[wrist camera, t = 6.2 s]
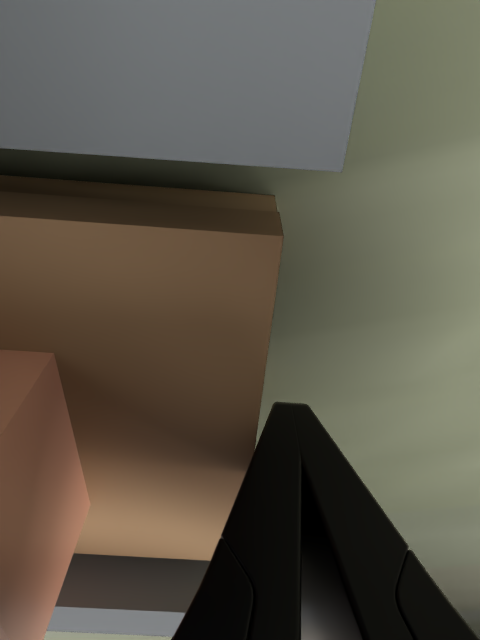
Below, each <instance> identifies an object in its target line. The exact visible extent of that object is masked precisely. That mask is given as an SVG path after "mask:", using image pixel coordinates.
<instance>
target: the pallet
mask: <svg viewBox="0 0 480 640" xmlns="http://www.w3.org/2000/svg"><path fill="white" fill-rule="evenodd" d="M283 237H284V236H283V230H282V225H281V219H280V214H279V212H277V207H276V202H275V196H274V195H260V194H247V193H233V192H220V191H206V190H193V189H180V188H166V187H153V186H139V185H126V184H113V183H99V182H86V181H72V180H59V179H45V178H32V177H19V176H5V175H0V350H15V351H30V352H46V353H54V355H55V359H56V363H57V368H58V372H59V376H60V380H61V384H62V388H63V392H64V397H65V401H66V405H67V409H68V413H69V417H70V422H71V426H72V430H73V434H74V438H75V442H76V446H77V451H78V455H79V459H80V463H81V467H82V471H83V476H84V480H85V484H86V488H87V492H88V496H89V500H90V507H89V510H88V513H87V516H86V519H85V522H84V524H83V527H82V530H81V533H80V536H79V539H78V542H77V544H76V547H75V550H74V553H79V554H97V555H116V556H134V557H153V558H171V559H190V560H208V561H210V560H211V558H212V556H213V553H214V551H215V548H216V546H217V543H218V541H219V539H220V538H221V534H222V531H223V529H224V526H225V524H226V521H227V519H228V516H229V514H230V511H231V509H232V506H233V504H234V501H235V499H236V496H237V494H238V491H239V489H240V486H241V484H242V481H243V479H244V476H245V474H246V471H247V469H248V466H249V464H250V461H251V459H252V456H253V454H254V450H255V443H256V435H257V428H258V421H259V413H260V406H261V399H262V391H263V384H264V377H265V369H266V362H267V355H268V347H269V340H270V333H271V325H272V318H273V311H274V303H275V296H276V289H277V281H278V274H279V267H280V259H281V252H282V245H283Z"/></svg>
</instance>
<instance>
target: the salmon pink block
mask: <svg viewBox="0 0 480 640" xmlns="http://www.w3.org/2000/svg"><path fill="white" fill-rule="evenodd" d="M89 507H90V500H89V496H88V492H87V488H86V484H85V480H84V476H83V471H82V467H81V463H80V459H79V455H78V451H77V446H76V442H75V438H74V434H73V430H72V426H71V422H70V417H69V413H68V409H67V405H66V401H65V397H64V392H63V388H62V384H61V380H60V376H59V372H58V368H57V363H56V359H55V355H54V353H46V352H30V351H15V350H0V640H43V639H44V636H45V633H46V630H47V627H48V625H49V622H50V619H51V616H52V613H53V610H54V607H55V605H56V602H57V599H58V596H59V593H60V590H61V587H62V585H63V582H64V579H65V576H66V573H67V570H68V567H69V564H70V562H71V559H72V556H73V553H74V550H75V547H76V544H77V542H78V539H79V536H80V533H81V530H82V527H83V524H84V522H85V519H86V516H87V513H88V510H89Z"/></svg>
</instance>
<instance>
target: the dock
mask: <svg viewBox="0 0 480 640" xmlns="http://www.w3.org/2000/svg"><path fill="white" fill-rule="evenodd" d="M375 3H376V0H0V148H6V149H20V150H34V151H49V152H63V153H77V154H91V155H105V156H119V157H134V158H148V159H162V160H176V161H190V162H204V163H219V164H233V165H247V166H261V167H275V168H289V169H303V170H318V171H332V172H342V170H343V165H344V160H345V155H346V149H347V144H348V139H349V134H350V129H351V124H352V119H353V114H354V109H355V104H356V99H357V94H358V89H359V84H360V79H361V74H362V68H363V63H364V58H365V53H366V48H367V43H368V38H369V33H370V28H371V23H372V18H373V13H374V8H375ZM209 563H210V561H208V560H190V559H171V558H153V557H134V556H116V555H97V554H79V553H73V556H72V559H71V562H70V564H69V567H68V570H67V573H66V576H65V579H64V582H63V585H62V587H61V590H60V593H59V596H58V599H57V602H56V605H55V607H54V610H53V613H52V616H51V619H50V622H49V625H48V627H47V630H46V631H61V632H83V633H104V634H126V635H147V636H168V637H173V635H174V634H175V632H176V630H177V628H178V626H179V624H180V623H181V621H182V619H183V617H184V615H185V613H186V611H187V609H188V607H189V605H190V603H191V601H192V599H193V598H194V596H195V594H196V592H197V590H198V588H199V586H200V583H201V581H202V579H203V576H204V574H205V572H206V570H207V567H208V565H209Z"/></svg>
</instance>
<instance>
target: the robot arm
mask: <svg viewBox="0 0 480 640" xmlns="http://www.w3.org/2000/svg"><path fill="white" fill-rule="evenodd" d="M171 640H480V639H479V638H478V637H477V635H476V634H475V633H474V632H473V630H472V629H471V628H470V627H469V625H468V624H467V623H466V622H465V621H464V619H463V618H462V617H461V616H460V614H459V613H458V612H457V611H456V609H455V608H454V607H453V606H452V605H451V603H450V602H449V601H448V599H447V598H446V597H445V595H444V594H443V593H442V591H441V590H440V589H439V587H438V586H437V585H436V583H435V582H434V581H433V579H432V578H431V577H430V575H429V574H428V573H427V571H426V570H425V568H424V567H423V566H422V564H421V563H420V561H419V560H418V559H417V557H416V556H415V554H414V553H413V551H412V550H408V545H407V543H406V542H405V540H404V539H403V538H402V536H401V535H400V533H399V532H398V531H397V529H396V528H395V526H394V525H393V524H392V522H391V521H390V519H389V518H388V517H387V515H386V514H385V512H384V511H383V510H382V508H381V507H380V505H379V504H378V503H377V501H376V500H375V498H374V497H373V496H372V494H371V493H370V491H369V490H368V488H367V487H366V486H365V484H364V483H363V481H362V480H361V479H360V477H359V476H358V474H357V473H356V472H355V470H354V469H353V467H352V466H351V465H350V463H349V462H348V460H347V459H346V458H345V456H344V455H343V453H342V452H341V451H340V449H339V448H338V446H337V445H336V444H335V442H334V441H333V439H332V438H331V436H330V435H329V434H328V432H327V431H326V429H325V428H324V427H323V425H322V424H321V422H320V421H319V420H318V418H317V417H316V415H315V414H314V413H313V411H312V410H311V408H310V407H309V406H308V405H307V404H302V403H287V402H275V403H274V404H273V406H272V409H271V411H270V414H269V416H268V419H267V421H266V424H265V426H264V429H263V431H262V434H261V436H260V439H259V441H258V444H257V446H256V449H255V451H254V454H253V456H252V459H251V461H250V464H249V466H248V469H247V471H246V474H245V476H244V479H243V481H242V484H241V486H240V489H239V491H238V494H237V496H236V499H235V501H234V504H233V506H232V509H231V511H230V514H229V516H228V519H227V521H226V524H225V526H224V529H223V531H222V534H221V538H220V539H219V541H218V543H217V546H216V548H215V551H214V553H213V556H212V558H211V560H210V563H209V565H208V567H207V570H206V572H205V574H204V576H203V579H202V581H201V583H200V586H199V588H198V590H197V592H196V594H195V596H194V598H193V599H192V601H191V603H190V605H189V607H188V609H187V611H186V613H185V615H184V617H183V619H182V621H181V623H180V624H179V626H178V628H177V630H176V632H175V634H174V635H173V637H172V639H171Z"/></svg>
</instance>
